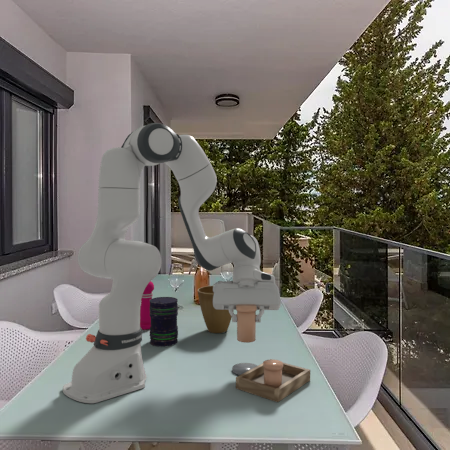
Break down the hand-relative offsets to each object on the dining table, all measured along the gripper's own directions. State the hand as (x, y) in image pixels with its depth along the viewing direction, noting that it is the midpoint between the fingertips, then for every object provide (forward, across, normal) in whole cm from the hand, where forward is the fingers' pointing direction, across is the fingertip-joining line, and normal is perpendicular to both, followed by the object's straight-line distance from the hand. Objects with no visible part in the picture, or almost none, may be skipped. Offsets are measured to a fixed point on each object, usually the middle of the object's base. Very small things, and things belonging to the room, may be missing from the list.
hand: (246, 321), depth 129 cm
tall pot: (+4, 0, +4) cm, 6 cm away
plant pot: (-17, -12, +38) cm, 43 cm away
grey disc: (+10, 0, +11) cm, 15 cm away
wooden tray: (+17, +8, +4) cm, 19 cm away
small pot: (+20, +7, 0) cm, 21 cm away
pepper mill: (-18, -39, +40) cm, 59 cm away
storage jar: (-6, -29, +28) cm, 41 cm away
